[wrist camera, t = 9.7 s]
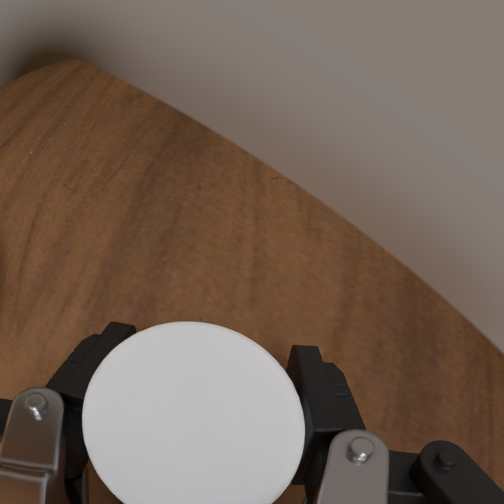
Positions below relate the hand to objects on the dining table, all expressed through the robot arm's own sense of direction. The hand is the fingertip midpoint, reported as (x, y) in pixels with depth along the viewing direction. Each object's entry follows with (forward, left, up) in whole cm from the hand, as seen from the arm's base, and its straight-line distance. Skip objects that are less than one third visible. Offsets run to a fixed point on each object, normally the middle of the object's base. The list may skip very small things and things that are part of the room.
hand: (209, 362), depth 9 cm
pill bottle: (+1, +2, -4) cm, 5 cm away
